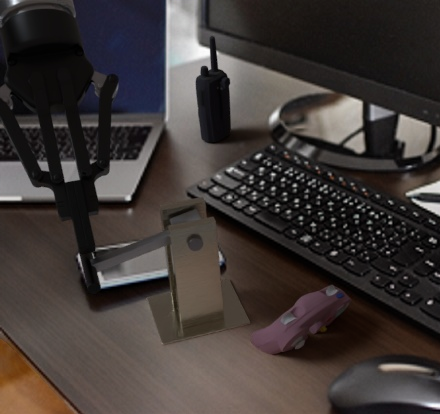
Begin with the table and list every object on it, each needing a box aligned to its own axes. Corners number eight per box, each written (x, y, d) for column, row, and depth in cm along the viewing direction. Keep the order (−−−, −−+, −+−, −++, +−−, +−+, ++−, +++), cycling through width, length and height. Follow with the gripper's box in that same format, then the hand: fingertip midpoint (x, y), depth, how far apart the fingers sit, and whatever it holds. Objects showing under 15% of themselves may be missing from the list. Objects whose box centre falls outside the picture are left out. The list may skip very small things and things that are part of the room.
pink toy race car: (273, 379, 81) (294, 343, 76) (243, 343, 82) (262, 306, 77) (341, 330, 87) (365, 295, 82) (313, 298, 88) (335, 261, 83)
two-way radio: (218, 127, 126) (211, 30, 118) (243, 133, 124) (237, 36, 116) (195, 141, 122) (186, 42, 114) (220, 148, 120) (212, 48, 112)
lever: (92, 300, 77) (83, 281, 76) (83, 260, 82) (74, 241, 81) (215, 252, 79) (207, 232, 78) (197, 215, 85) (190, 196, 83)
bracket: (163, 352, 82) (148, 244, 75) (147, 306, 88) (132, 202, 82) (251, 331, 85) (244, 224, 78) (229, 287, 91) (221, 185, 85)
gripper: (-37, 14, 78) (10, 256, 73) (104, -4, 82) (158, 226, 77) (-26, 49, 85) (18, 273, 80) (104, 32, 89) (154, 244, 84)
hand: (87, 249), depth 78 cm, fingers closed
